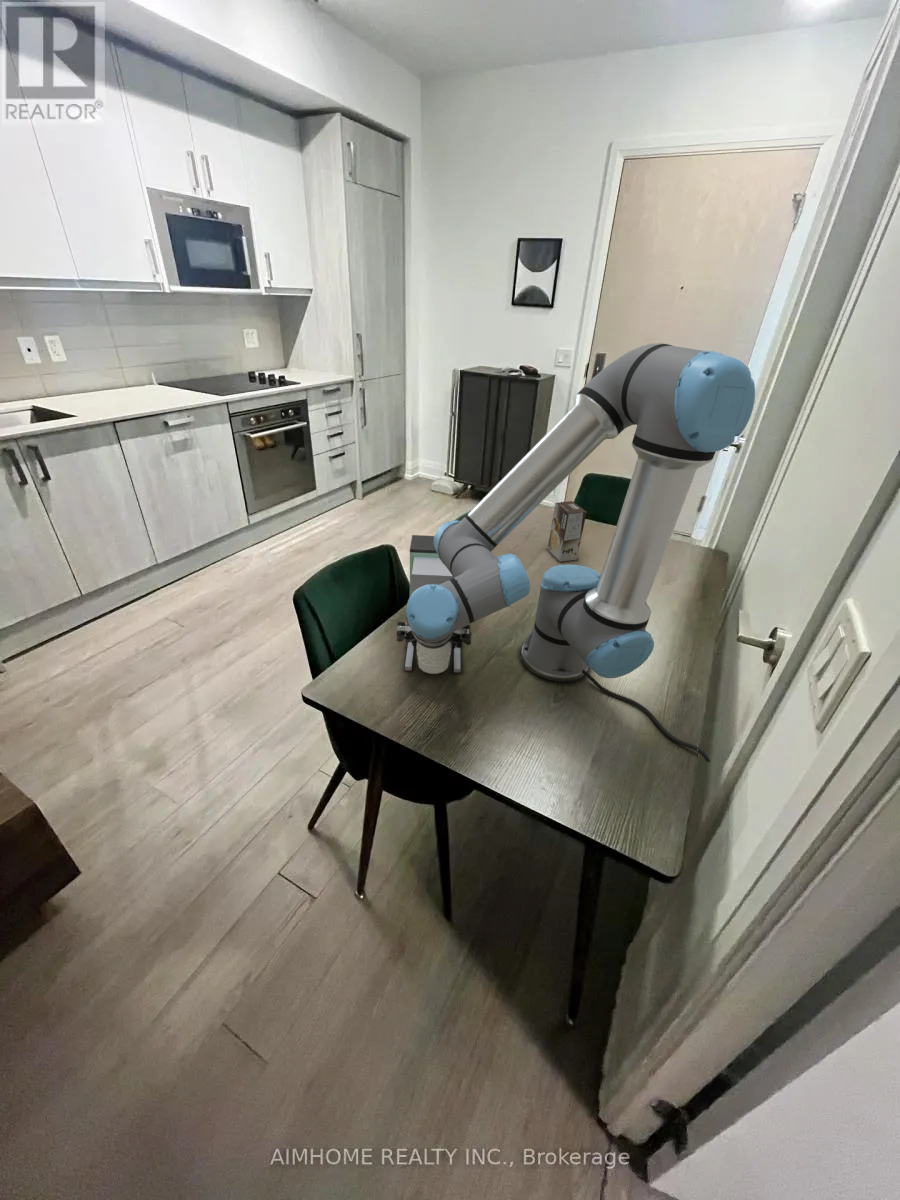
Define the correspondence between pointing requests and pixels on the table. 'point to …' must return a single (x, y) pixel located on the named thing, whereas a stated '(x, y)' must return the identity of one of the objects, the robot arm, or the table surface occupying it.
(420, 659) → the white cup
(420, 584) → the coffee machine
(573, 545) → the coffee box
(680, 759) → the table surface
